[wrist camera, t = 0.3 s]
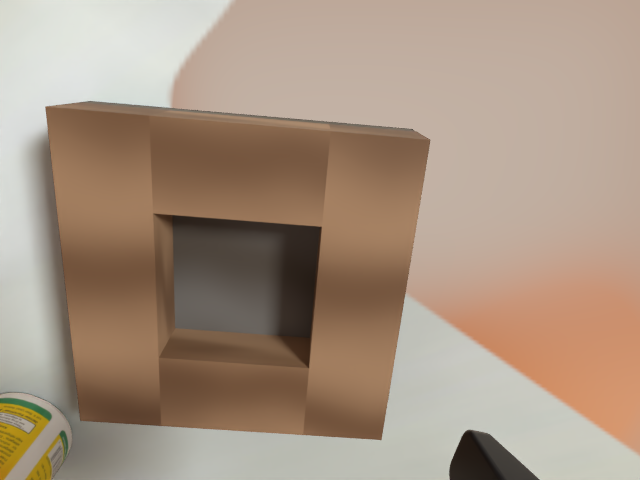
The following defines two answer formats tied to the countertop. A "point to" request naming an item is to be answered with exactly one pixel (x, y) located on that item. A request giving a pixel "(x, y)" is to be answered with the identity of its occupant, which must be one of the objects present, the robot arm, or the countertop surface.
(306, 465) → the countertop surface
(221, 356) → the socket block
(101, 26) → the countertop surface
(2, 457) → the supplement bottle
